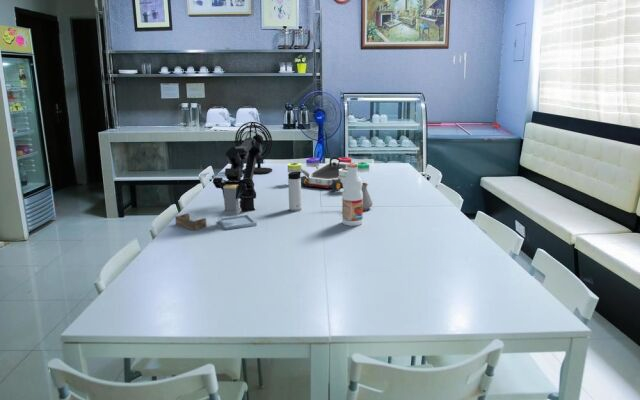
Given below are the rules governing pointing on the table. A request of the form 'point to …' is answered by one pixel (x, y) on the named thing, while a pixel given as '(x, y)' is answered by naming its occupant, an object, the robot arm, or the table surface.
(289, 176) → the travel mug
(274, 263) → the table surface
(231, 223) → the slate tray
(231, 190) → the grey upright block piece
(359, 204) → the fruit juice
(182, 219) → the walnut bay
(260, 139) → the desk fan
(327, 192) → the table surface
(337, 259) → the table surface
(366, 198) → the coffee pot
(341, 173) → the cart
